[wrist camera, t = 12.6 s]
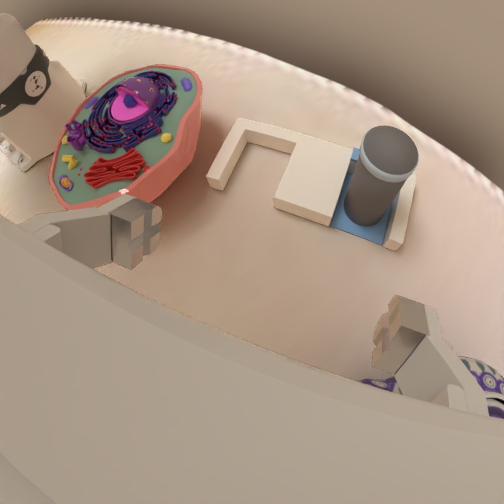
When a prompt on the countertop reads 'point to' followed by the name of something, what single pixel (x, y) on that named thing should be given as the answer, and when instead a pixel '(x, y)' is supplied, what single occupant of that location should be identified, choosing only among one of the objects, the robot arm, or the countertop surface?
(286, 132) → the cream holder tray
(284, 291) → the countertop surface
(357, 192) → the stub
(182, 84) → the cell model
